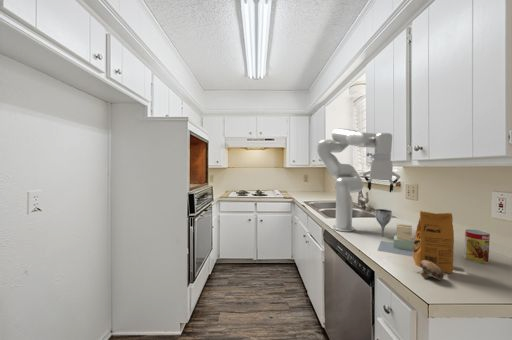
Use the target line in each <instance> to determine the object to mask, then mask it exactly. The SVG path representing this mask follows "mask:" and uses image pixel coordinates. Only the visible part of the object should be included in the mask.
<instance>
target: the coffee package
mask: <svg viewBox="0 0 512 340" xmlns="http://www.w3.org/2000/svg"><path fill="white" fill-rule="evenodd" d="M419 212H420V213H419V218H418V223H417V225H416V231H415V237H414V247H413V257H412V259H413V260H414V263H415V265H416V266H417V267H419V268H422V267H421V266H420V261H422V260H428V261H431V262H432V263H434V264H435V265H437V266H438V267H439V268H440V269H441V270H442V272H443V273H444V274H452V273H453V271H454V270H453V269H454V249H455V248H454V244H455V240H454V239H455V236H454V234H455V232H454V231H455V230H454V225H453V221H454V220H453V213H452V212H444V213H434V212H429V211H423V210H419Z"/></svg>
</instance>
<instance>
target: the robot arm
mask: <svg viewBox="0 0 512 340" xmlns="http://www.w3.org/2000/svg"><path fill="white" fill-rule="evenodd" d="M331 138H332V139H331ZM331 138H330V139H328V138H327V139H326V138H325V139H321V140H320V141H319V142H318V143H317V147H316V149H317V154H318V157H319V159H320V160H321V161H322V162H323V163H324V165H325V167H326V169H327V171H328V173H329V174H330V176H331V178H333V179H335V182H334V189H335V224H333V225H332V229H333V230H335V231H338V232H354V231H355V227H354V226H353V205H354V203H353V198H352V195H351V193H359V192H361V191H362V190H363V188H364V182H363V179H362V178H361V176H360V175H359V173H358V172H357V170H356V169H355V168H354V166H353V165H351V164H349V163H341V162H340V161H339V160H338V158H337V157H336V155H334V153H341V152H343V151H344V150H345V149H347V148H348V147H349V146H354V147H359V148H371V149H374V153H373V154H371V155H370V156H371V158H372V160H371V163H370V170H368V171H365V172H364V173H362V176H363V178H364V179H365V181H366V182H367V189H368V191H371V190H372V181H373V180H377V181H388V182H389V183H390V184H389V193H392V192H393V190H394V185H395V184H396V183H397V182H398V181H399V179H401V176H400V175H399V174H397V173H395V172H394V171H393V160H392V159H391V157H392V146H393V134H392V133H389V132H379V133H375V132H373V133H372V132H359V131H357V130H355V129H350V128H335V129H334V130H333V131H332V133H331ZM367 175H369V177H368V176H367ZM393 176H394V177H396V178H395V179H394V180H393Z"/></svg>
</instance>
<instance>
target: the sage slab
mask: <svg viewBox="0 0 512 340" xmlns="http://www.w3.org/2000/svg"><path fill="white" fill-rule="evenodd" d="M396 238H397V234H395V235H394V236H393V243H394V247H393V248H399V249H405V250H411V251H413V247H414V240H415V237H413V236H412V237H411V241H407V240H400V239H396Z"/></svg>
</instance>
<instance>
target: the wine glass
mask: <svg viewBox="0 0 512 340" xmlns="http://www.w3.org/2000/svg"><path fill="white" fill-rule="evenodd" d="M374 214H375V219H376V221H377V223H378V224H379V225H380V227H381V237H382V238H383V237H384V238H385V235H384V234H385V233H384V231H385V229H386V228H385V227H386V226H387V225H388V224H389V223H390V222H391V220H392V214H393V211H392V210H391V209H387V208H386V209H385V208H375V213H374Z"/></svg>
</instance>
